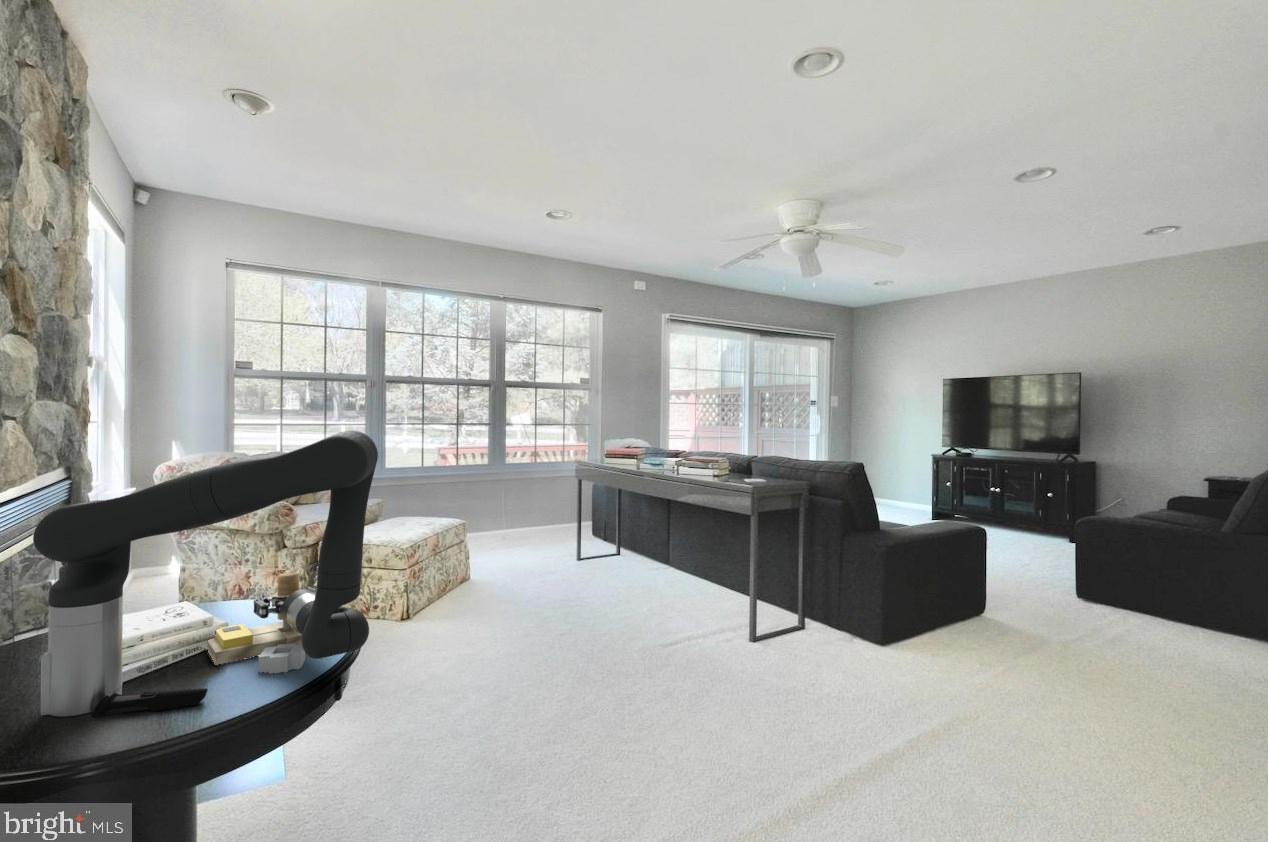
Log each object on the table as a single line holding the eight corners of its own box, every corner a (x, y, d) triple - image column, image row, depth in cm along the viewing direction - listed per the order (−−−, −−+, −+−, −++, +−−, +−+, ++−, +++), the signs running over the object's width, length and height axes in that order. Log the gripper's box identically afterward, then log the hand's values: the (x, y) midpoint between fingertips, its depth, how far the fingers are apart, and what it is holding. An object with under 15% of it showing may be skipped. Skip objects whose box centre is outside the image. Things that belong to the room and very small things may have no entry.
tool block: (256, 675, 116) (257, 658, 116) (266, 661, 122) (266, 645, 122) (299, 670, 118) (299, 654, 118) (306, 657, 124) (306, 642, 124)
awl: (280, 645, 131) (280, 578, 131) (275, 640, 134) (275, 574, 134) (301, 640, 134) (301, 574, 134) (296, 636, 136) (296, 571, 137)
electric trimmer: (201, 712, 102) (201, 692, 102) (89, 720, 99) (90, 700, 99) (211, 702, 106) (211, 683, 106) (103, 709, 102) (104, 690, 102)
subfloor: (215, 665, 120) (215, 652, 120) (204, 648, 129) (204, 636, 129) (327, 641, 133) (327, 629, 133) (310, 627, 142) (310, 616, 142)
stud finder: (223, 648, 122) (223, 639, 122) (214, 636, 129) (214, 628, 129) (252, 642, 125) (252, 634, 125) (242, 631, 132) (242, 623, 132)
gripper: (346, 587, 128) (321, 572, 140) (267, 600, 118) (248, 583, 130) (346, 623, 128) (321, 606, 140) (267, 639, 118) (247, 619, 130)
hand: (286, 594), depth 135 cm, fingers open, 8 cm apart
